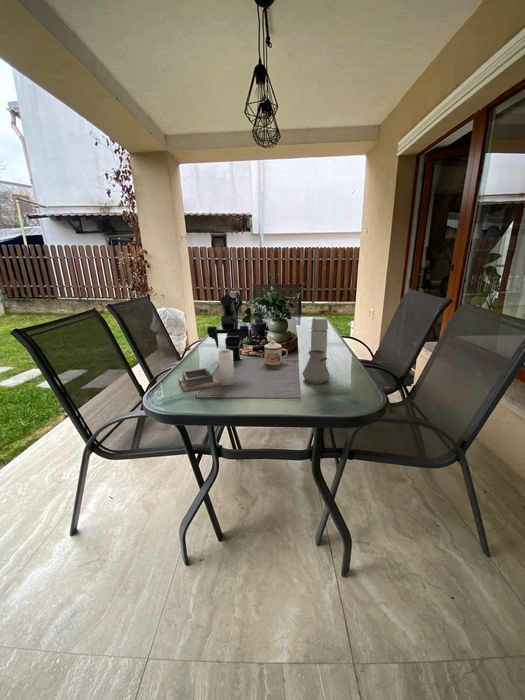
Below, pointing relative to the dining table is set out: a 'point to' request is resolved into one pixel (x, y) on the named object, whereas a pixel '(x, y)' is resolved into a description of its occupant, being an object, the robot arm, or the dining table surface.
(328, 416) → the dining table surface
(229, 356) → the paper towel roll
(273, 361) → the teacup with lid
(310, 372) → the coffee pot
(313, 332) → the water bottle
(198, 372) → the roll holder
